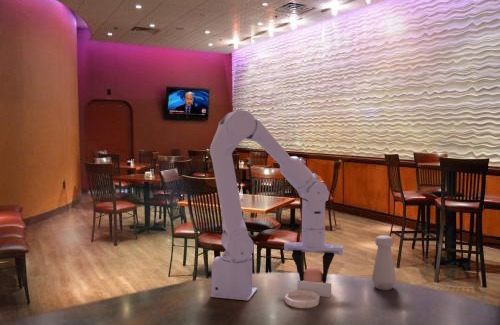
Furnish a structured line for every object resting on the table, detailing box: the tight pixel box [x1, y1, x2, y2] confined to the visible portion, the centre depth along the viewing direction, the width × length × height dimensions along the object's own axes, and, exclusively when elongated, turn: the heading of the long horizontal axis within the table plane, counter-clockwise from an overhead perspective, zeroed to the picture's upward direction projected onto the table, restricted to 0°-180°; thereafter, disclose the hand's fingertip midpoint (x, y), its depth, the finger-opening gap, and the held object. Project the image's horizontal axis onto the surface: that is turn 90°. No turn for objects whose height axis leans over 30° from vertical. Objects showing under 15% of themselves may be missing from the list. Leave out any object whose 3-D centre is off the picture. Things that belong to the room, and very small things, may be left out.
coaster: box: [284, 289, 321, 309], centre depth 107 cm, size 8×8×1 cm
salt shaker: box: [371, 234, 397, 291], centre depth 116 cm, size 6×6×13 cm
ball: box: [303, 266, 323, 283], centre depth 116 cm, size 5×5×5 cm
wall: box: [296, 280, 332, 298], centre depth 111 cm, size 8×1×3 cm, turn 74°
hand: (313, 280), depth 116 cm, fingers closed on ball, 5 cm apart
